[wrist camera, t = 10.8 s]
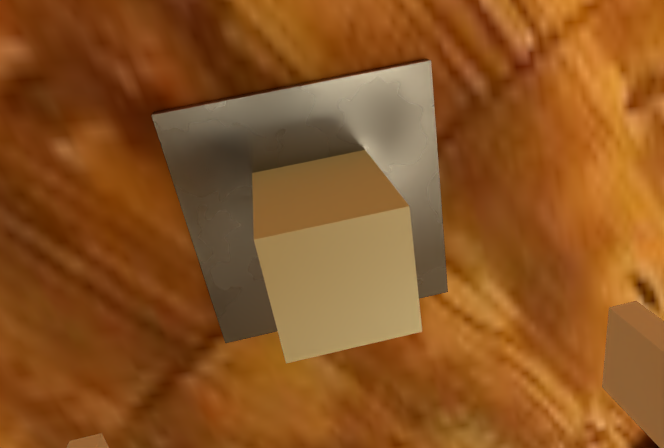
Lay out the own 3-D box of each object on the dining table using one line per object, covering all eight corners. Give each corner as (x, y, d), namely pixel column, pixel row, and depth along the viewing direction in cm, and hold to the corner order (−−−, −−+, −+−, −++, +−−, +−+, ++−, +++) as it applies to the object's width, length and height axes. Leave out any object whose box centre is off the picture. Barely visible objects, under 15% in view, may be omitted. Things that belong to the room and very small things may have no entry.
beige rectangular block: (276, 271, 24) (286, 363, 18) (251, 173, 22) (253, 239, 16) (378, 249, 25) (422, 331, 18) (365, 149, 22) (409, 206, 16)
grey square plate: (226, 336, 26) (220, 424, 21) (153, 112, 21) (120, 151, 15) (443, 285, 27) (493, 357, 21) (426, 58, 22) (485, 78, 16)
